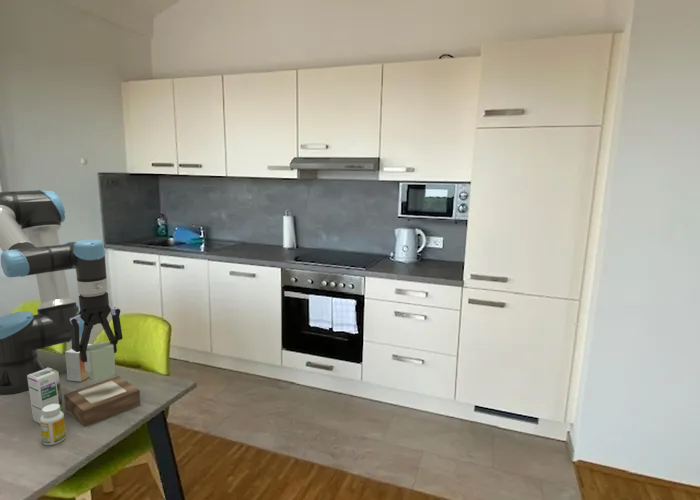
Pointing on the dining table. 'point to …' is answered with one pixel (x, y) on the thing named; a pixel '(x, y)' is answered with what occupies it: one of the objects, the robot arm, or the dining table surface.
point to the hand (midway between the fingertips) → (100, 367)
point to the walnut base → (102, 400)
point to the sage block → (101, 361)
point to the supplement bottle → (52, 425)
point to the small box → (75, 366)
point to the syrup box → (44, 391)
